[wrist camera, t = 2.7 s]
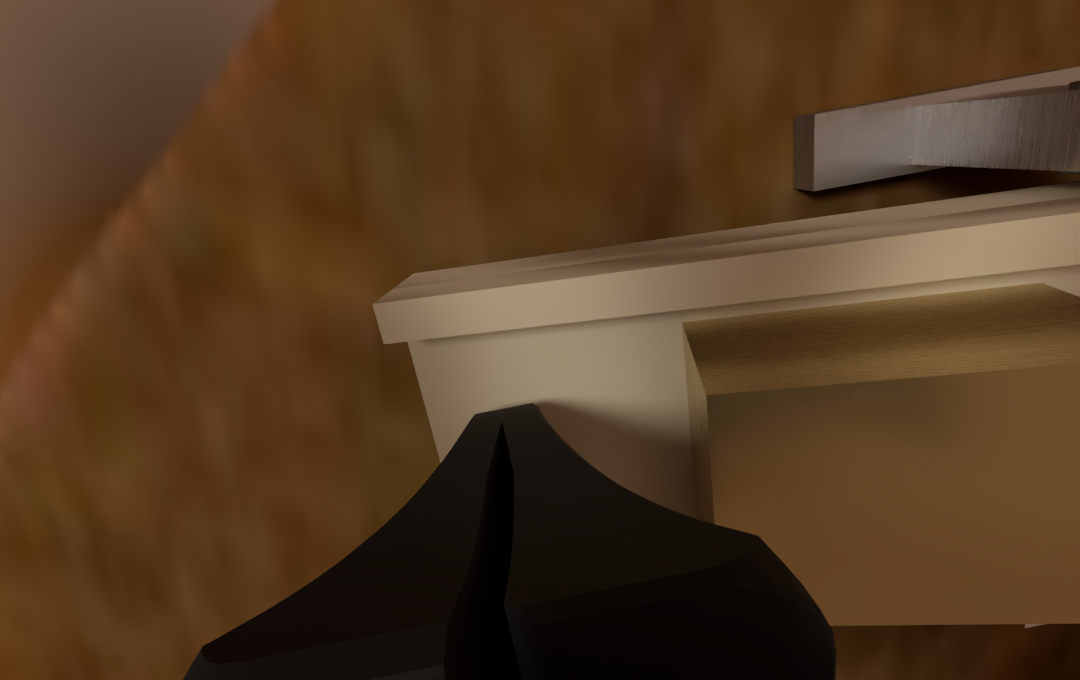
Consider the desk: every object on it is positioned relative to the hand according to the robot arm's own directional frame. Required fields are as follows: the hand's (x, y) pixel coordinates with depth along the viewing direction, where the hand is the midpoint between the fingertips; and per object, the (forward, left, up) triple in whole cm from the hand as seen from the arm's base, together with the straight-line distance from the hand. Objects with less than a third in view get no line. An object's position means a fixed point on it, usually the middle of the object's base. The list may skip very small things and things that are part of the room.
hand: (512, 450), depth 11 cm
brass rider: (+7, 0, +1) cm, 7 cm away
